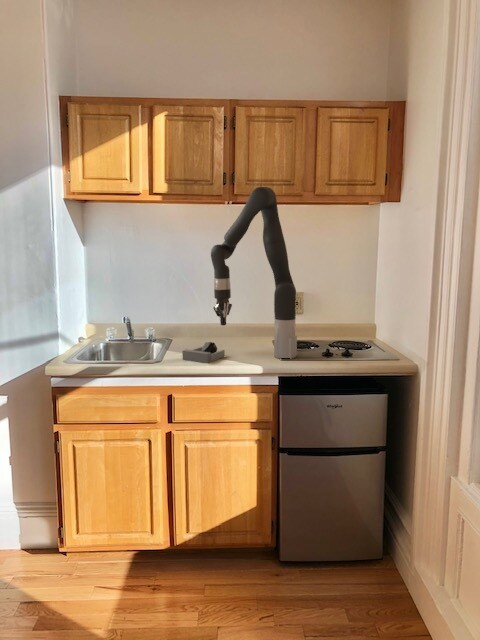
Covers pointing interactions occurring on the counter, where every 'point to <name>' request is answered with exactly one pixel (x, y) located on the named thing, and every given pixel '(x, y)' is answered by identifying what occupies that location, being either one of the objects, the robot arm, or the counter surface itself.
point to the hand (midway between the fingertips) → (223, 325)
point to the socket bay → (202, 355)
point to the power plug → (209, 347)
